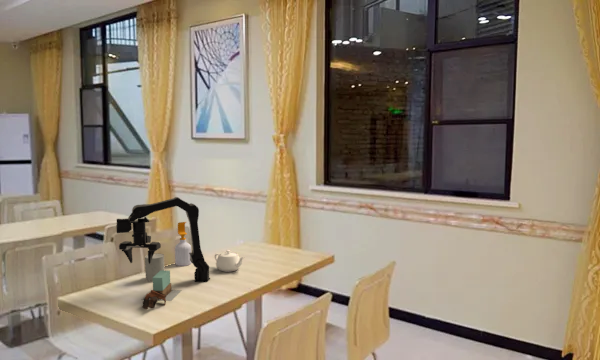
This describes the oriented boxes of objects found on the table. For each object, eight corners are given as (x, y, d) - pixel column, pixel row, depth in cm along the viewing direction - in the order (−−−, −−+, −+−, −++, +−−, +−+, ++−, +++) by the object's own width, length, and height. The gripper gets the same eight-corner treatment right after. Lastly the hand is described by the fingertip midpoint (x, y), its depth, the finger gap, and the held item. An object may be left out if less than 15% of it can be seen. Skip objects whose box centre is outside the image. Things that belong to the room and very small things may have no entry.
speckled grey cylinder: (159, 282, 243) (158, 258, 241) (142, 281, 245) (141, 257, 243) (168, 276, 252) (167, 253, 251) (151, 275, 254) (150, 253, 252)
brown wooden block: (167, 295, 224) (166, 286, 223) (162, 299, 219) (162, 290, 218) (156, 294, 224) (156, 286, 224) (152, 298, 219) (152, 290, 219)
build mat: (182, 291, 230) (181, 290, 230) (171, 301, 216) (171, 300, 216) (153, 290, 232) (153, 289, 232) (141, 300, 218) (141, 299, 218)
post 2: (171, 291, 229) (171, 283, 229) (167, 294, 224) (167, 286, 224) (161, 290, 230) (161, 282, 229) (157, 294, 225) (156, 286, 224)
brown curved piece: (141, 305, 214) (149, 287, 216) (161, 313, 215) (169, 295, 217) (138, 308, 202) (147, 289, 204) (160, 316, 204) (168, 298, 206)
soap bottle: (177, 267, 269) (176, 223, 266) (173, 262, 277) (172, 220, 274) (193, 264, 273) (192, 222, 271) (189, 260, 281) (188, 219, 279)
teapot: (206, 269, 265) (205, 250, 264) (223, 263, 276) (223, 245, 275) (236, 276, 253) (235, 256, 251) (253, 270, 264) (252, 250, 262)
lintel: (160, 282, 229) (160, 270, 228) (170, 282, 229) (169, 270, 228) (153, 290, 218) (152, 277, 218) (162, 290, 218) (162, 277, 217)
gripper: (164, 228, 238) (165, 259, 240) (128, 227, 240) (129, 258, 242) (155, 233, 227) (156, 265, 229) (117, 232, 229) (119, 264, 231)
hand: (140, 263), depth 233 cm, fingers open, 9 cm apart
